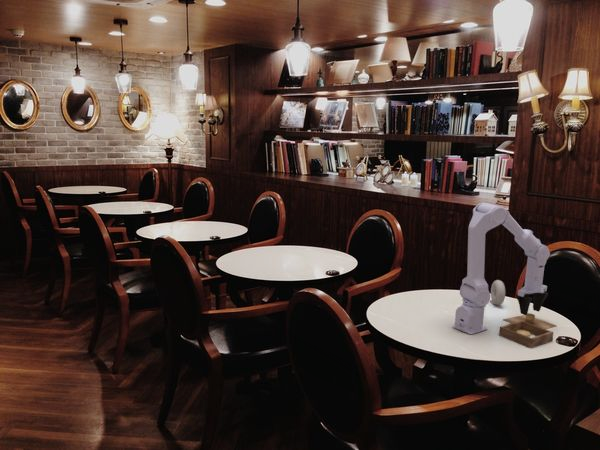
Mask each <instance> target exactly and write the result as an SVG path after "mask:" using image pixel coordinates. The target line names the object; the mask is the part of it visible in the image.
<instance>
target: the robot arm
mask: <svg viewBox="0 0 600 450" xmlns="http://www.w3.org/2000/svg"><path fill="white" fill-rule="evenodd" d="M500 225H502V226H504V228H505V229H507V230H508V231H509V232H510V233H511V234H513V236H514V241H515V242H516V243H517V245H518V246H519V247H521V248H522V249H523V250H524V255H525V256H527V260H526V271H525V280H524V286H523V287H522V288H520V289H518V291H517V293H516V294H515V297H516V299H517V302H518V305H519V310H520V311H519V312H520V314H521V315H527V313H529V309H530V305H531V303H532V309H533V311H536V312H538V313H539V312H540V311H541V308H542V305H543V303H544V302H545V300H546V299H547V297H548V296H549V293H548V292H547V289H548V286H547V285H545V284H543V280H544V271H545V265H546V264H547V260H549V257H550V256H551V252H550V248H549V247H548V246H547V245H545V244H542V242H541V240H540V238H537V237H536V236H535V235H534V234H533V233H534V231H532V230H531V229H526V228H524V229H523V228H522V226H520V225H519V223H518V222H517V221H516V219H515V218H513V216H512V215H511V214H510V211H509V210H507V209H506V208H505V207H504V206H502V205H497V204H491V203H488V202H486V201H483V202H480V203H478V204H476V206H475V207H474V208H473V209H472V217H471V219H470V221H469V225H468V228H467V229H468V230H467V231H468V234H467V237H468V238H467V269H466V270H467V272H466V273H467V274H466V277H464V278H463V279H462V282H461V285H460V289H459V295H460V297H461V298H462V304H461V305H460V306H459V307H457V308H456V310H455V318H454V325H452V328H454V329H455V330H459V331H461V332H464V333H466V334H469V335H473V334H477V333H481V332H484V331H487V330H489V328H488V327H486V326H484V319H485V318H484V317H485V316H484V315H485V307H486V306H487V305H488V304H489V302H490V300H491V292H490V291H489V284H488V283H487V281H486V279H485V261H486V260H485V259H486V258H485V257H486V234H487V232H489V231H490V230H492V229H495V228H496V227H497V226H500ZM529 295H532V297H530V296H529ZM486 308H487V307H486Z"/></svg>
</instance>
